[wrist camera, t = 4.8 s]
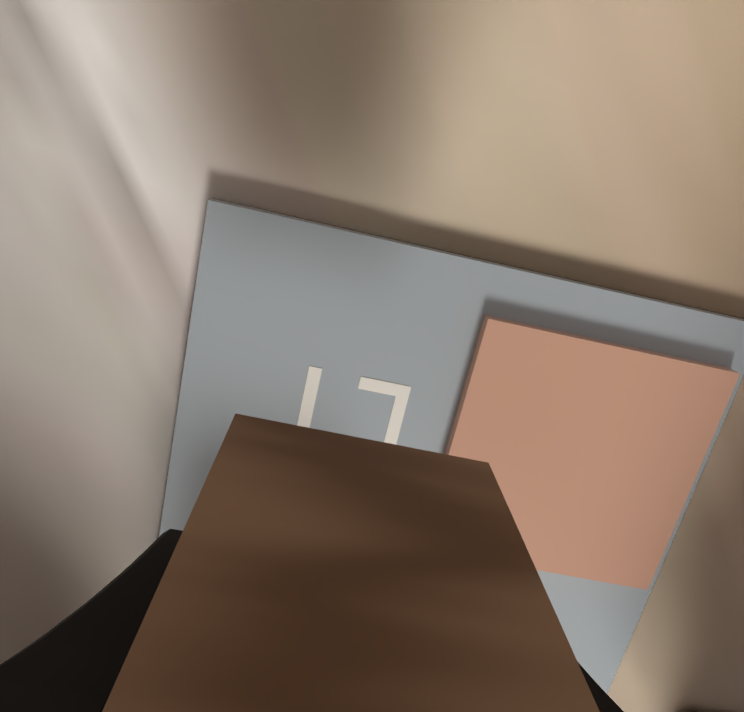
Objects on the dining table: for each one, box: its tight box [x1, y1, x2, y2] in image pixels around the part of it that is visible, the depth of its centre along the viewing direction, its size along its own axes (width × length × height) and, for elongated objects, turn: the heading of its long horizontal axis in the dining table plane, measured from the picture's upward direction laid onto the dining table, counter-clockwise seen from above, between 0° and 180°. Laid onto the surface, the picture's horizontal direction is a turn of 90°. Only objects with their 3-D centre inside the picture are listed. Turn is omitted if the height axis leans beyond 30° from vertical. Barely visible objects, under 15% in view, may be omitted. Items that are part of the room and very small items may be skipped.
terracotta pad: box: [445, 315, 740, 590], centre depth 20 cm, size 8×8×1 cm
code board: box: [159, 198, 744, 694], centre depth 22 cm, size 17×22×1 cm
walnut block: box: [102, 413, 600, 712], centre depth 10 cm, size 5×5×7 cm
